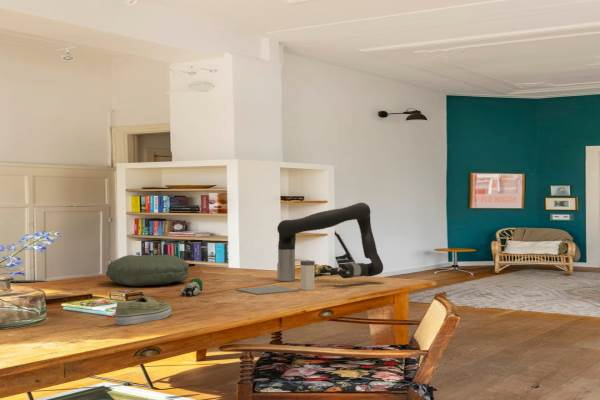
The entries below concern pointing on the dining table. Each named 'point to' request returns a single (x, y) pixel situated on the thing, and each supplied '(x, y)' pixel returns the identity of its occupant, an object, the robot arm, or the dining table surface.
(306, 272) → the cream block
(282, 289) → the slate mat
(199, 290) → the toy
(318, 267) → the figurine
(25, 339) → the dining table surface
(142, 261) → the pillow
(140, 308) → the boat shoe
